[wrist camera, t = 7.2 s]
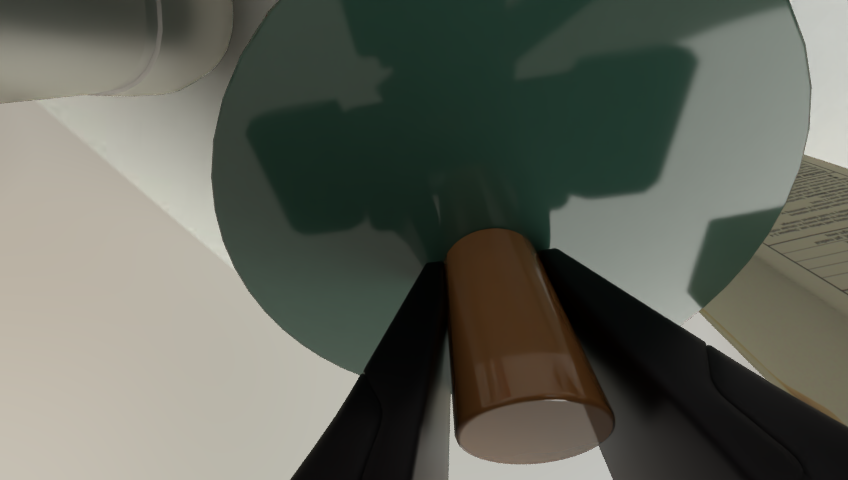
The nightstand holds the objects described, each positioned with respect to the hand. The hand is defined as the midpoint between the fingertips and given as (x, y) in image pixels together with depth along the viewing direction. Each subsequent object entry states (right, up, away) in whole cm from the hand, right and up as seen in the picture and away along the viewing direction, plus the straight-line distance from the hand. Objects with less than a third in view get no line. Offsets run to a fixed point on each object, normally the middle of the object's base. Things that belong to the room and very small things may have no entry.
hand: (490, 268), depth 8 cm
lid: (0, 0, 0) cm, 1 cm away
